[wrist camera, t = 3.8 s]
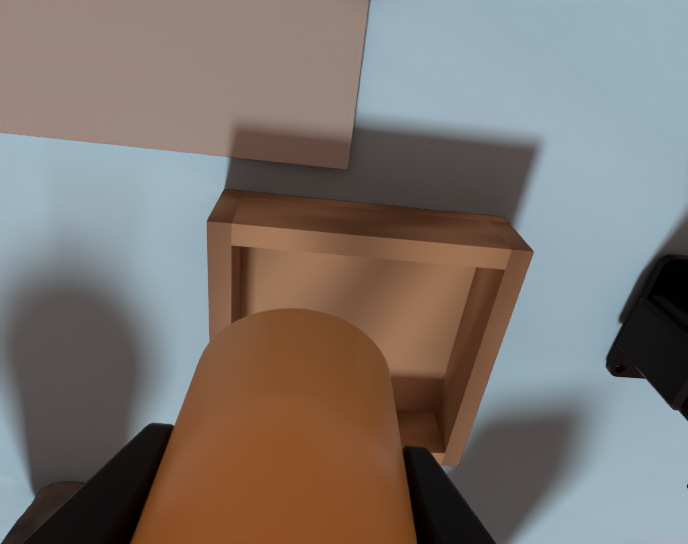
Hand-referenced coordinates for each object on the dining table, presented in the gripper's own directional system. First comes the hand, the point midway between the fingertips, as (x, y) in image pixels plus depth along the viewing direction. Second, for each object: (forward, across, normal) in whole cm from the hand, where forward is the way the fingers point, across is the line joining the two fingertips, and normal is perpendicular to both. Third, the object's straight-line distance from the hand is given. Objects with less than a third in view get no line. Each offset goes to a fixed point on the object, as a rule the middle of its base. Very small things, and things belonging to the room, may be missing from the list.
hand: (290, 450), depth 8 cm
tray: (+12, -2, +5) cm, 13 cm away
